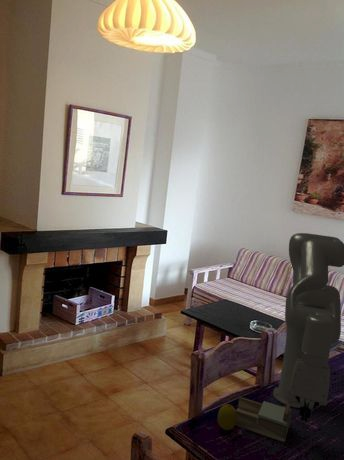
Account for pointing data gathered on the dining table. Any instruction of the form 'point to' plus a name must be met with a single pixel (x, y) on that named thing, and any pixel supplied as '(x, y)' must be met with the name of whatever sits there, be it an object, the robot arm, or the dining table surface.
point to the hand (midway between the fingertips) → (304, 418)
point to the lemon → (227, 417)
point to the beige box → (258, 420)
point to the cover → (275, 413)
